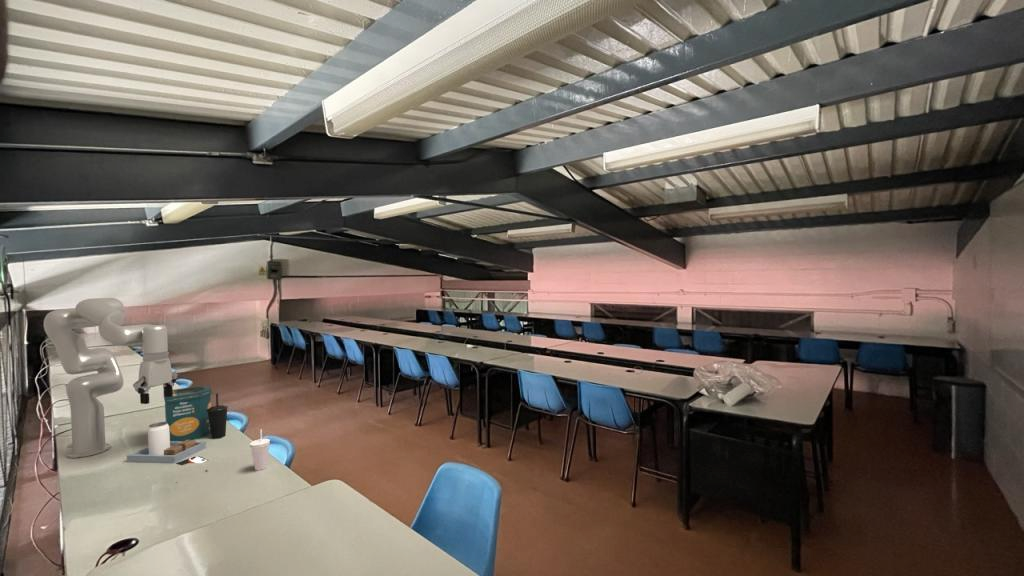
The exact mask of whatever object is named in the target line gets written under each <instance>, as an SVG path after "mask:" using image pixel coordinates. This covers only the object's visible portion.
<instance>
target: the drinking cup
mask: <svg viewBox="0 0 1024 576" xmlns="http://www.w3.org/2000/svg"><path fill="white" fill-rule="evenodd" d="M215 400H216V401H215V405H211V407H210V408H209V409H207V412H208V418H209V424H210V431H211V434H210V436H211V439H212V440H217V439H222V438H224V437H226V431H227V421H228V420H227V419H228V418H227V416H228V408H229V406H228V405H225V404H219V393H215Z"/></svg>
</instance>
